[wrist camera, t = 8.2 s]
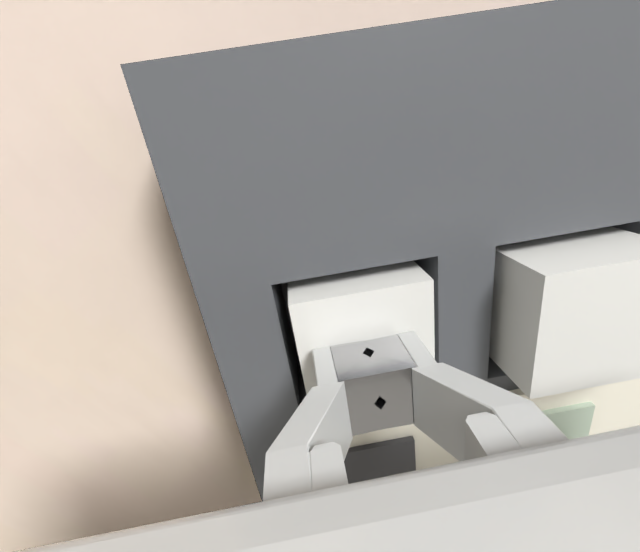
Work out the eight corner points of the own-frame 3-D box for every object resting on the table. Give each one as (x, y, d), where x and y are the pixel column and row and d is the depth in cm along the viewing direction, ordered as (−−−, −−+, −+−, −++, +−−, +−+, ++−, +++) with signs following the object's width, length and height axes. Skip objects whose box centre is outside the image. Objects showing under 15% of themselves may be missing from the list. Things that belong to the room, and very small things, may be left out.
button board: (811, -6, 12) (1109, -88, 7) (683, 367, 18) (806, 436, 14) (176, 90, 11) (108, 58, 7) (274, 444, 17) (270, 543, 13)
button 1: (398, 247, 12) (433, 279, 9) (404, 341, 13) (435, 394, 11) (287, 266, 12) (288, 305, 9) (305, 359, 13) (311, 417, 10)
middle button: (595, 222, 11) (696, 249, 8) (577, 323, 13) (658, 374, 10) (480, 242, 11) (545, 276, 8) (476, 342, 13) (529, 399, 10)
